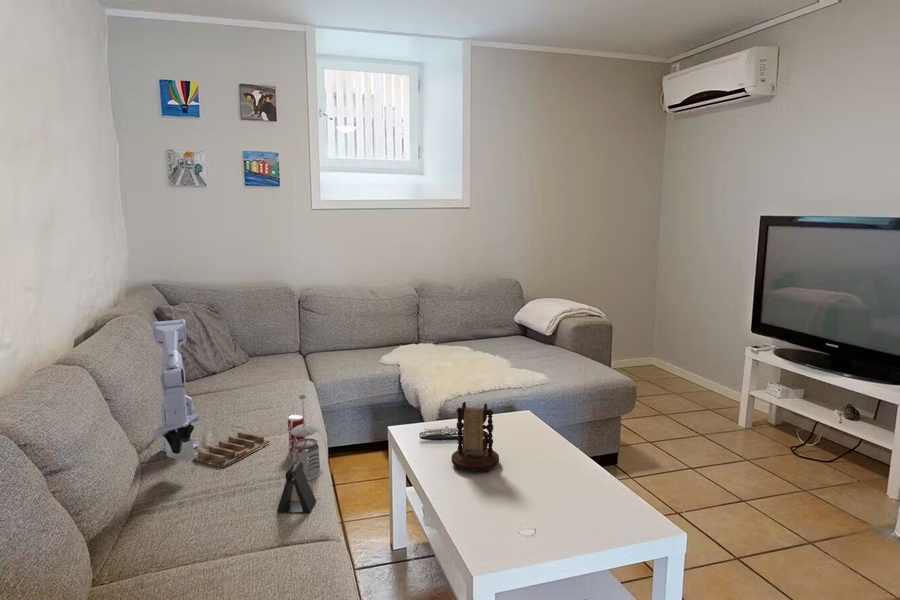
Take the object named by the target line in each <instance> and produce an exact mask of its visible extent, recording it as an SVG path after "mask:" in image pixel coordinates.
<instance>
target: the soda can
mask: <svg viewBox="0 0 900 600" xmlns="http://www.w3.org/2000/svg"><path fill="white" fill-rule="evenodd" d="M302 424H305V418H304V419H303V414H293V415H290V416H288V420H287V431H288V446H290V449H289V453H291V454H292V453H293V447H294V446H293V443H294V440H295V442H296V441H297V440H301V439H305V438H306V436H303V437H298V436H294V435H292V434H291V430H292V429H294V428H295V427H297V426H299V425H302ZM293 439H294V440H293ZM292 440H293V441H292ZM291 441H292V443H291ZM290 443H291V445H290ZM294 452H306V450H294Z"/></svg>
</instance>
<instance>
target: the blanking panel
mask: <svg viewBox="0 0 900 600" xmlns="http://www.w3.org/2000/svg"><path fill="white" fill-rule="evenodd" d="M193 443H194V440H193V438H192V439H188V438H183V437H180V438H179V453H178V454H175V453H173V452H172V450H171V447H170V445H169V443H168V441H167V440H166V438H165V444H166V451H165V453H166V457H167V458H171V459H175V460H178V461H184V462H187V463H189V462H191V461H194V460H193V459H195V456H196V455H195V448H194V445H193Z"/></svg>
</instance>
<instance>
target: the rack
mask: <svg viewBox="0 0 900 600" xmlns="http://www.w3.org/2000/svg"><path fill="white" fill-rule="evenodd" d="M269 442H270V440H265V437H264V436H263V435H258V434H252V433H249V432H247V433H246V432H242V431H238V432H237V435H236V436H230V435H229V436H228V439H227V440H225V441H223V440H219V441H218V444H217V445H215V446H213V445H209V446H207V448H208V449H207V450H205V451H203V450H198V451H197V455H194V456H195V459H193V460H192V461H194V460H196V461H195V462H198V461H201V462H200V463H202V462H206V463H211V464H215V465H219V466H223V467H225V468H227V467H228V466H227V465H229V464H230V463H232V462H234V461H236V460H238V459H240V458H242V457H244V456H245V455H247V454H249V453H251V452H253V451H254V450H256V449H258V448H260V447H261V446H263V445H265V444H267V443H269ZM270 443H271V442H270ZM244 458H245V457H244ZM242 459H243V458H242ZM240 460H241V459H240ZM206 463H205V464H206ZM211 464H210V465H211ZM215 465H214V466H215ZM219 466H218V467H219ZM226 466H227V467H226ZM229 466H230V465H229ZM223 467H222V468H223Z"/></svg>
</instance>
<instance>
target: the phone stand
mask: <svg viewBox="0 0 900 600" xmlns="http://www.w3.org/2000/svg"><path fill="white" fill-rule="evenodd" d="M295 463H296V461H295V462H294V463H292V464H291V465H290V467H289V468H288V470H287V471H286V472H285V475H284V476H285V484H284V487H283V490H282V493H281V496H280V497H281V498H280V500H279V503H278V506H277V510H276V513H277V514H300V515H301V514H304V515H305V514H306V515H307V514H310V513H312V512H311V511H312V510H313V508H314V506H315V504H316V503H317V499H316V497H315V494H314V492H313V491H312V487H311V485H310V483H309V480H307V478H306V476H305V474H304V471H303V463H302V462H300V461H299V462H298V461H297V463H298V464H297V465H296V466H295V468H294V465H295ZM294 488H295V492H296V495H297V497H298V500H292V495H293V490H294Z"/></svg>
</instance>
